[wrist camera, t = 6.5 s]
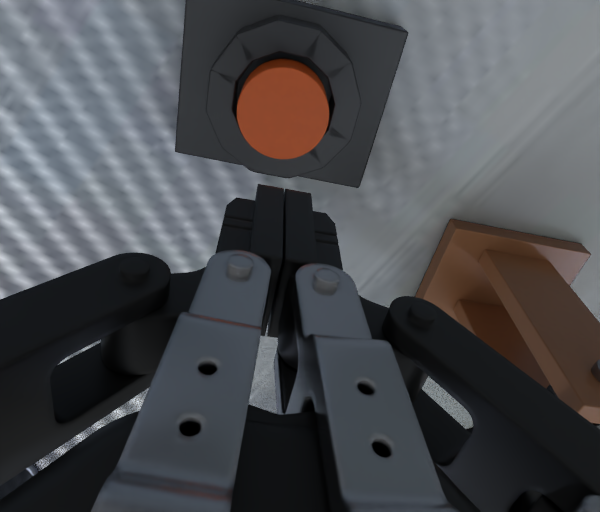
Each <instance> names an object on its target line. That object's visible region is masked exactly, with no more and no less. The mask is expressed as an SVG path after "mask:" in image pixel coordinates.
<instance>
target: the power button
mask: <svg viewBox="0 0 600 512" xmlns="http://www.w3.org/2000/svg"><path fill="white" fill-rule="evenodd" d="M237 121H238V125H239V128H240V131H241V133H242V135H243V137H244V138H245V140H246V141H247V142H248V143H249V145H251V146H252V147H253V148H254V149H255V150H256V151H258V152H259V153H261V154H263V155H265V156H268V157H271V158H275V159H292V158H296V157H299V156H302V155H304V154H306V153H308V152H309V151H311V150H312V149H313V148H314V147H315V146H317V144H318V143H319V142H320V141H321V139H322V138H323V136H324V134H325V132H326V129H327V126H328V122H329V105H328V101H327V96H326V92H325V89H324V86H323V84H322V82H321V80H320V79H319V77H318V76H317V74H316V73H315V72H314V71H313V70H312V69H310V68H309V67H308V66H306V65H305V64H303V63H301V62H299V61H295V60H292V59H274V60H270V61H267V62H265V63H263V64H261V65H260V66H258V67H257V68H256V69H254V70H253V71H252V72H251V73H250V75H249V76H248V77H247V79H246V81H245V83H244V85H243V88H242V90H241V93H240V96H239V99H238V104H237Z"/></svg>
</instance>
